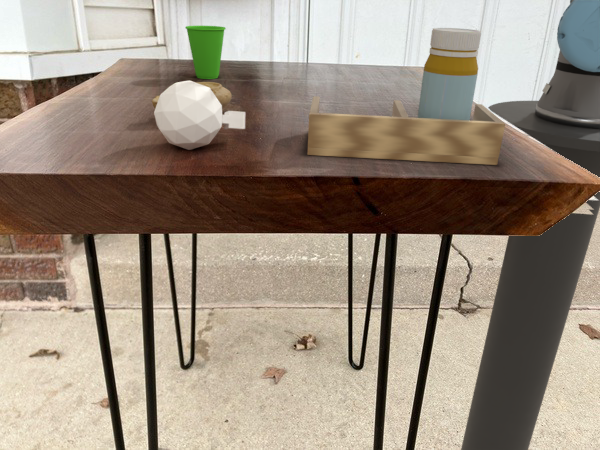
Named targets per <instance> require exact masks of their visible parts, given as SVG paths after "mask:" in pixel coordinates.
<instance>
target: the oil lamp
mask: <svg viewBox="0 0 600 450" xmlns="http://www.w3.org/2000/svg"><path fill="white" fill-rule="evenodd" d="M196 83H198V84H201V85H204V86H207V87H209V88H210V89H211V90H212V92H213V93H214V95H215V96H216V98H217V99H218V101H219V102H220V103H221V105H222V110H224V109H225V108H226V107H227V106H228V105H229V104H230V102H231V101H232V93H231V91H230V90H229V89H227V88H225V87H224V86H223V85H222V84H221V83H219V82H213V81H199V82H198V81H197V82H196ZM159 97H160V95H155V96H154V97H153V99H152V100H151V103H152V106H153V108H154V109H155V108H156V105H157V103H158V100H159Z"/></svg>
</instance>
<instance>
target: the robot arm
mask: <svg viewBox="0 0 600 450" xmlns="http://www.w3.org/2000/svg"><path fill="white" fill-rule="evenodd" d="M557 25H558V26H557V32H556V35H557V36H556V40H557V45H558V49H559V53H558V57H557V60H556V66H555V70H554V73H553V75H552V77H551V79H550V80H549V82H546V83H545V85H544V87H543V89H542V91H541V92H542V94H541V96H540V97H539V99H538V100H537V101H538V103H537V105H536V110H535V115H536V116H537V117H539V118H541V119H543V120H546V121H549V122H553V123H557V124H562V125H567V126H573V127H580V128H590V129H600V0H569V5H568V6H567V7H566V9H565V10H564V11H563V13H562V16H561V17H560V19H559V21H558V24H557Z"/></svg>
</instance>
